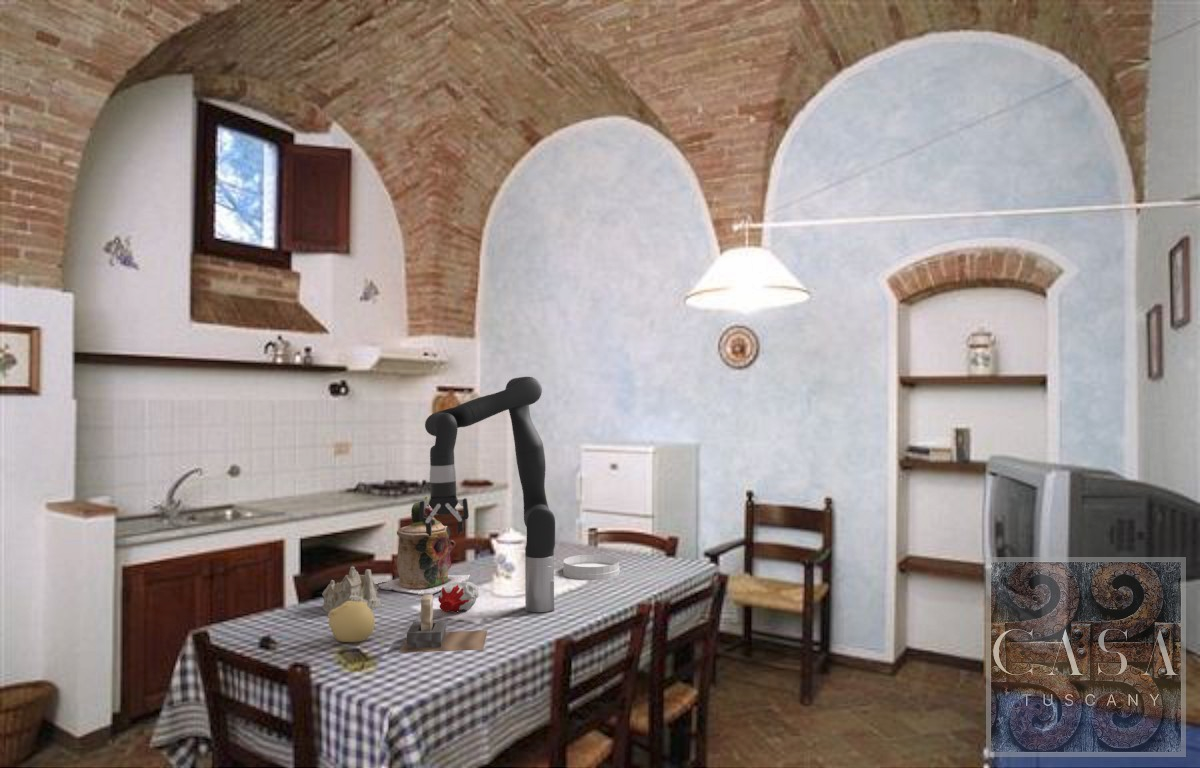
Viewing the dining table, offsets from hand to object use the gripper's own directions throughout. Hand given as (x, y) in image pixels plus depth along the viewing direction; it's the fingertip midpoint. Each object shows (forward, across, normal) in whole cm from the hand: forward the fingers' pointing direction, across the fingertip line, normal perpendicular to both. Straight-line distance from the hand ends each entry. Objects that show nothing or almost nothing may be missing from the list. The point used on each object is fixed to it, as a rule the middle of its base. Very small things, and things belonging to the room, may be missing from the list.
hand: (444, 534), depth 219 cm
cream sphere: (+27, +26, +6) cm, 38 cm away
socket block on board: (+28, -1, +16) cm, 32 cm away
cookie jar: (+28, +13, -53) cm, 61 cm away
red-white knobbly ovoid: (+28, -1, -18) cm, 33 cm away
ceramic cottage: (+27, +33, -27) cm, 51 cm away
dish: (+30, -49, -63) cm, 86 cm away
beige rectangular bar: (+26, +4, +15) cm, 30 cm away
